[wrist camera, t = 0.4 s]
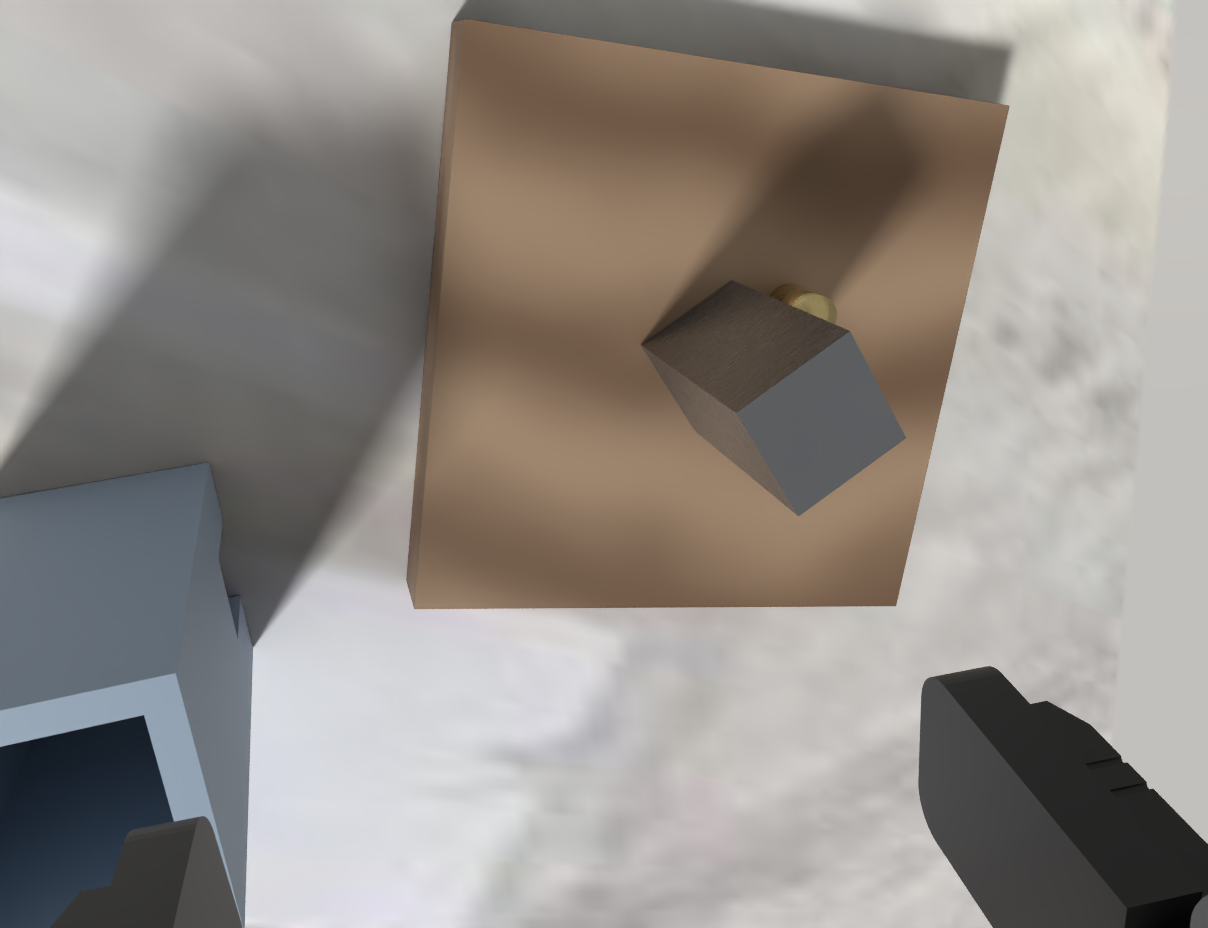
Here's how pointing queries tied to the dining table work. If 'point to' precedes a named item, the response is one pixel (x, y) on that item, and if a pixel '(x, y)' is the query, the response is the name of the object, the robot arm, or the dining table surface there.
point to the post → (777, 389)
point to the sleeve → (116, 683)
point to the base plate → (671, 317)
